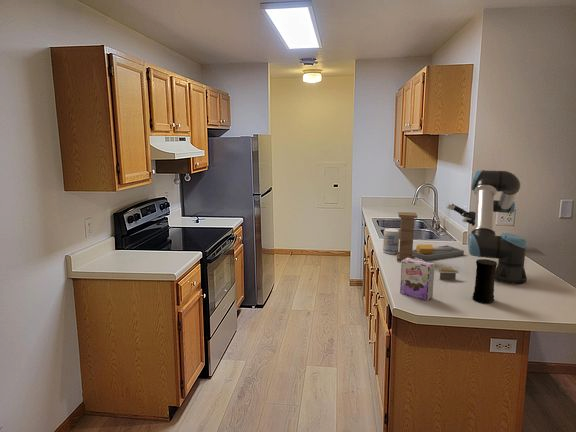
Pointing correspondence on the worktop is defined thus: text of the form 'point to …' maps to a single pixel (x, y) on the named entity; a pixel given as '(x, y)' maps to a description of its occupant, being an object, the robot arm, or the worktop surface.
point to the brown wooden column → (406, 235)
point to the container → (484, 281)
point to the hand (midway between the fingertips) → (455, 212)
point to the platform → (447, 273)
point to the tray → (439, 254)
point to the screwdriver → (430, 249)
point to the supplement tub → (391, 241)
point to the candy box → (417, 278)
